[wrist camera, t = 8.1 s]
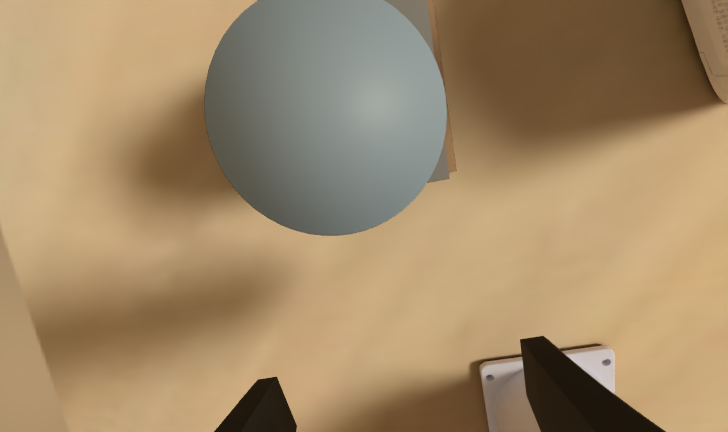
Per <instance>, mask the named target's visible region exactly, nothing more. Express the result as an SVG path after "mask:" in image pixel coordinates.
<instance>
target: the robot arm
mask: <svg viewBox="0 0 728 432" xmlns="http://www.w3.org/2000/svg"><path fill="white" fill-rule="evenodd" d="M520 343H521V352H522V357H516V358H509V359H502V360H495V361H487V362H484V363H482V364H481V365H480V368H479V370H480V376H481V382H482V389H483V395H484V401H485V408H486V414H487V421H488V427H489V432H665V431H664V430H663V429H661V428H660V427H658V426H657V425H656V424H654V423H653V422H651V421H650V420H649V419H647V418H646V417H644V416H643V415H642V414H640V413H639V412H637V411H636V410H635V409H633V408H632V407H631V406H629V405H628V404H627V403H625V402H624V401H623V400H621V399H620V398H619V397H617V396H616V395H615V354H614V351H613V350H612V349H611V348H610V347H609V346H606V345H602V346H595V347H588V348H581V349H574V350H566V351H561V350H559V349H558V348H557V347H556V346H555V345H554V344H553V343H551V342H550V341H549V340H548V339H547V338H545V337H544V336H540V337H534V338H527V339H520ZM605 359H606V360H605ZM603 360H605V361H603ZM487 375H491V376H487ZM296 428H297V425H296V423H295V420H294V418H293V416H292V413H291V411H290V408H289V406H288V403H287V401H286V398H285V396H284V393H283V391H282V389H281V386H280V384H279V381H278V379H277V377H272V378H266V379H259V380H257V382H256V383H255V384H254V385H253V386H252V387H251V388H250V389H249V391H248V392H247V393H246V394H245V395H244V397H243V398H242V399H241V400H240V401H239V403H238V404H237V405H236V406H235V407H234V409H233V410H232V411H231V412H230V413H229V415H228V416H227V417H226V418H225V419H224V421H223V422H222V423H221V424H220V425H219V427H218V428H217V429H216V430H215V431H214V432H296Z"/></svg>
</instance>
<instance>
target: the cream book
mask: <svg viewBox="0 0 728 432" xmlns="http://www.w3.org/2000/svg"><path fill="white" fill-rule="evenodd" d="M682 4H683V7H684V10H685V13H686V16H687V19H688V22H689V25H690V27H691V30H692V33H693V36H694V39H695V43H696V46H697V48H698V51H699V55H700V58H701V60H702V63H703V65H704V68H705V70H706V73H707V76H708V78H709V80H710V83H711V85H712V87H713V89H714V91H715V92H716V94H717V96H718V97H719V98H720V99H721V100H722V101H723V102H725V103H728V0H682Z"/></svg>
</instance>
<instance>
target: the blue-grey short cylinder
mask: <svg viewBox="0 0 728 432" xmlns="http://www.w3.org/2000/svg"><path fill="white" fill-rule="evenodd" d="M204 110H205V121H206V128H207V133H208V137H209V140H210V144H211V147H212V150H213V152H214V155H215V157H216V160H217V162H218V164H219V166H220V168H221V169H222V171H223V173H224V175H225V176H226V178H227V179H228V181H229V182H230V183H231V185H232V186H233V187H234V189H235V190H236V191H237V192H238V193H239V194H240V195H241V197H242V198H243V199H244V200H245V201H246V202H248V203H249V204H250V205H251V206H252V207H253V208H254V209H256V210H257V211H258V212H260V213H261V214H263V215H264V216H266V217H267V218H269V219H271V220H273V221H274V222H276V223H278V224H280V225H282V226H285V227H288V228H290V229H293V230H296V231H300V232H304V233H307V234H314V235H322V236H338V235H347V234H353V233H357V232H361V231H365V230H368V229H370V228H373V227H376V226H378V225H380V224H382V223H384V222H386V221H387V220H389V219H391V218H392V217H394V216H395V215H397V214H398V213H399V212H401V211H402V210H403V209H404V208H405V207H407V206H408V205H409V204H410V203H411V202H412V201H413V200H414V199H415V198H416V196H417V195H418V194H419V193H420V192H421V191H422V189H423V188H424V186H425V185H426V183H427V182H428V180H429V179H430V177H431V175H432V173H433V171H434V169H435V167H436V165H437V163H438V160H439V157H440V154H441V151H442V148H443V143H444V138H445V133H446V121H447V107H446V95H445V90H444V85H443V80H442V77H441V74H440V71H439V68H438V65H437V62H436V60H435V58H434V56H433V54H432V52H431V50H430V48H429V46H428V45H427V43H426V42H425V40H424V39H423V37H422V36H421V34H420V33H419V31H418V30H417V29H416V28H415V27H414V26H413V24H412V23H411V22H410V21H409V20H408V19H407V18H406V17H405V16H404V15H403V14H402V13H400V12H399V11H398V10H397V9H396V8H395V7H393V6H392V5H390V4H389V3H387V2H386V1H384V0H258V1H257V2H255V3H254V4H253V5H251V6H250V7H249V8H247V9H246V10H245V11H244V12H243V13H242V14H241V15H240V16H239V17H238V18H237V19H236V20H235V21H234V22H233V23H232V25H231V26H230V27H229V29H228V30H227V31H226V33H225V34H224V36H223V37H222V39H221V41H220V43H219V45H218V47H217V49H216V50H215V53H214V55H213V58H212V61H211V64H210V66H209V70H208V75H207V80H206V85H205V96H204Z"/></svg>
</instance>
